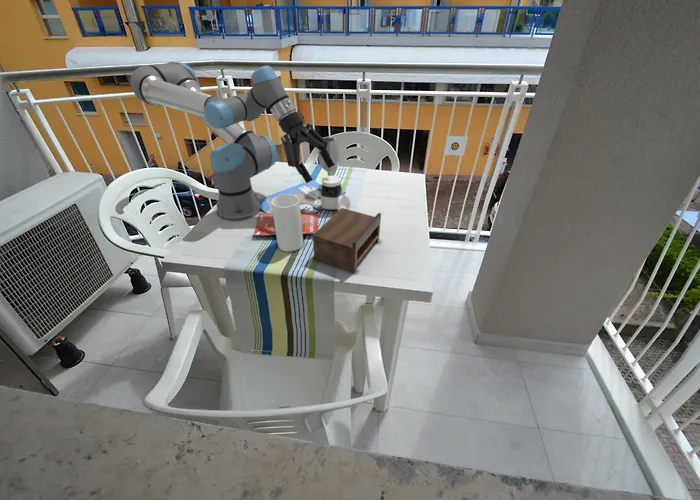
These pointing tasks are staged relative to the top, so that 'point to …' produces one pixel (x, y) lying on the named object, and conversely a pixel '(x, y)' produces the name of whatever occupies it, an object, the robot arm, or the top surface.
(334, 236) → the small wooden box
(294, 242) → the cup
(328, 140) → the wineglass
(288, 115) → the robot arm
